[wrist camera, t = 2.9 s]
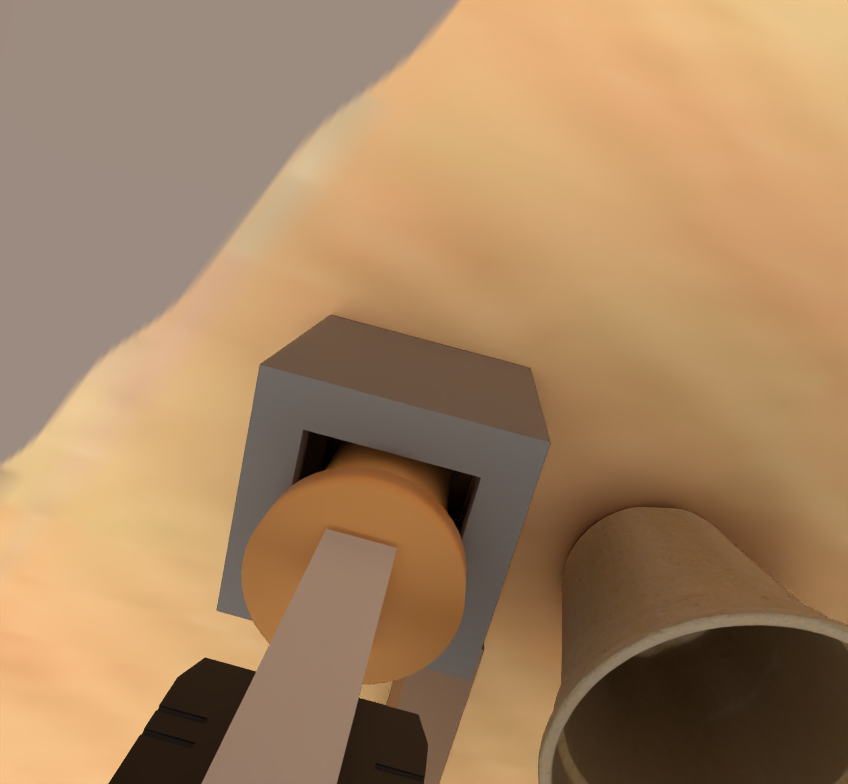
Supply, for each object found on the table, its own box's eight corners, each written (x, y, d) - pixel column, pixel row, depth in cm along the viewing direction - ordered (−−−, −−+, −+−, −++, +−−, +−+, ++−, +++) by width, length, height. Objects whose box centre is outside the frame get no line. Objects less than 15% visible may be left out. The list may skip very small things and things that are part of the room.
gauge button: (490, 402, 20) (492, 522, 13) (451, 531, 22) (433, 708, 14) (345, 364, 20) (261, 459, 13) (317, 494, 22) (225, 650, 14)
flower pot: (838, 521, 22) (1053, 713, 14) (704, 719, 25) (814, 978, 16) (588, 419, 22) (651, 551, 13) (481, 631, 24) (478, 848, 16)
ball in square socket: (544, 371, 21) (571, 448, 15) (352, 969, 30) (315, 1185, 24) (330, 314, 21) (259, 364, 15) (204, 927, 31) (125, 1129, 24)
